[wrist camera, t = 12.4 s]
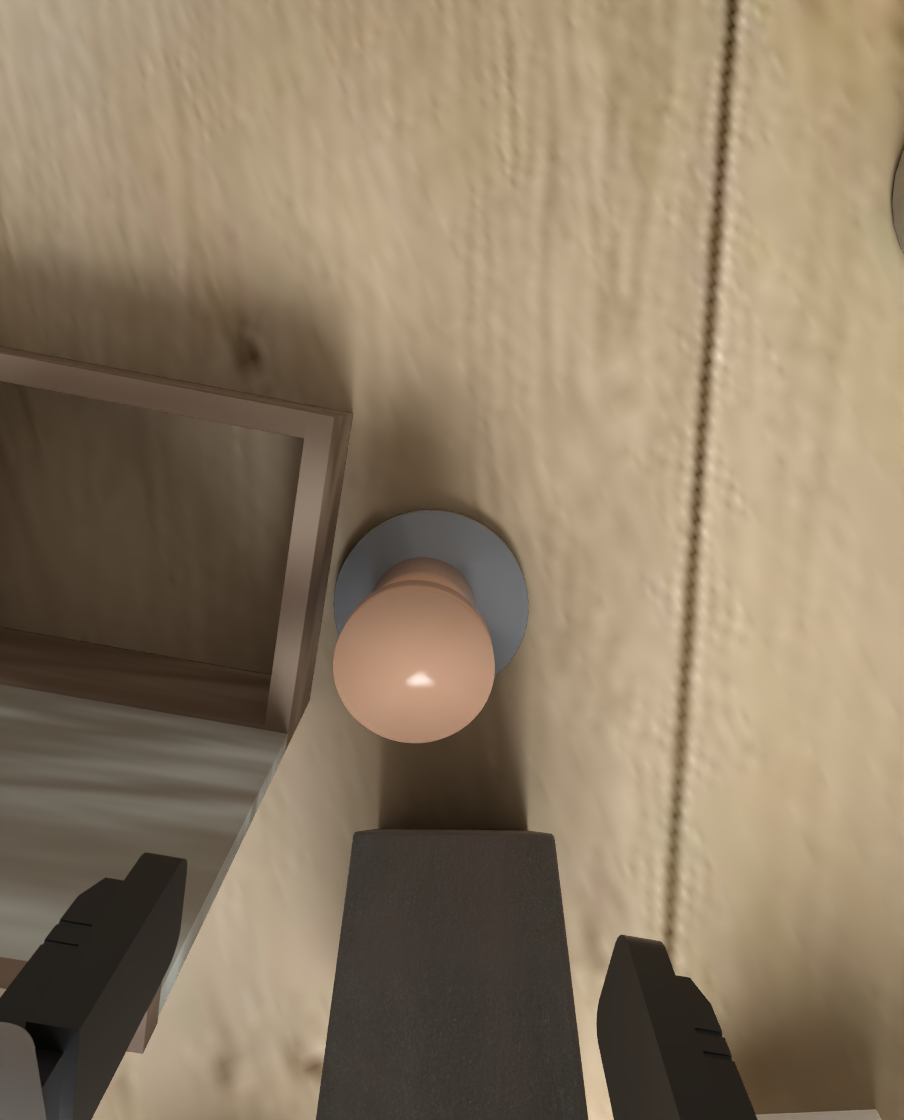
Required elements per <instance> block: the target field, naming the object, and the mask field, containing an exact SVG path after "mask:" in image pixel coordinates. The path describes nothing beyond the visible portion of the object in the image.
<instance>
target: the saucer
mask: <svg viewBox="0 0 904 1120" xmlns="http://www.w3.org/2000/svg"><path fill="white" fill-rule="evenodd" d="M417 557H428V558H434V559H438V560H441V561H444V562H446V563H448V564H450V565H452V566H453V567H454V568H456V569H457V570H458V571H459V572H460V573H461V574H462V575H463V576H464V577H465V579H466V580H467V582H468V583H469V585H470V587H471V589H472V592H473V595H474V600H475V608H476V609H477V610H478V611H479V612H480V614H481V616H482V617H483V619H484V621H485V623H486V625H487V627H488V630H489V633H490V636H491V641H492V647H493V654H494V661H495V675H494V677H495V676H496V675H497V674H498V673H499V672H501V671H502V670H503V669H504V668H505V666H506V665H507V664H508V663H509V662H510V660H511V659H512V658H513V656H514V654H515V653H516V651H517V649H518V648H519V645H520V643H521V641H522V639H523V636H524V633H525V629H526V626H527V619H528V603H529V601H528V593H527V587H526V583H525V580H524V576H523V574H522V571H521V569H520V566H519V564H518V562H517V560H516V558H515V557H514V555H513V553H512V551H511V550H510V549H509V547H508V546H507V545H506V544H505V542H504V541H503V540H502V539H501V538H500V537H499V536H498V535H497V534H496V533H495V532H493V531H492V530H491V529H489V528H488V527H487V526H485V525H484V524H482V523H480V522H478V521H477V520H475V519H473V518H470V517H468V516H465V515H463V514H459V513H455V512H452V511H446V510H438V509H423V510H416V511H410V512H406V513H403V514H399V515H397V516H394V517H392V518H390V519H387V520H385V521H384V522H382V523H380V524H379V525H377V526H375V527H374V528H373V529H372V530H370V531H369V532H368V533H367V534H366V535H365V536H364V537H363V538H362V539H361V540H360V541H359V542H358V543H357V544H356V546H355V547H354V548H353V550H352V551H351V552H350V554H349V555H348V557H347V559H346V561H345V562H344V564H343V566H342V568H341V571H340V574H339V576H338V579H337V583H336V588H335V594H334V617H335V622H336V627H337V630H338V633H339V636H340V634H341V632H342V630H343V628H344V626H345V624H346V622H347V620H348V618H349V616H350V614H351V613H352V612H353V610H354V609H355V608H356V606H357V605H358V604H359V603H360V602H361V601H362V600H363V599H364V598H366V597H367V596H368V595H370V594H371V593H372V592H373V591H374V589H375V587H376V585H377V583H378V581H379V580H380V578H381V577H382V576H383V574H384V573H385V572H386V571H387V570H389V569H390V568H391V567H392V566H394V565H396V564H397V563H399V562H402V561H404V560H407V559H411V558H417Z"/></svg>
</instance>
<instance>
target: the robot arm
mask: <svg viewBox="0 0 904 1120" xmlns="http://www.w3.org/2000/svg"><path fill="white" fill-rule="evenodd" d="M892 204H893V216H894V227H895V230H896V233H897V237H898V240H899V243H900V247H901V249H902V251H903V253H904V150H903V152H902V156H901V159H900V162H899V165H898V168H897V172H896V175H895V182H894V191H893V200H892ZM186 876H187V860H186V859H183V858H177V857H172V856H166V855H160V854H154V853H148V852H145V853H143V854H142V855H141V857H140V858H139V859H138V861H137V862H136V864H135V865H134V866H133V868H132V869H131V871H130V872H129V874H128V875H127V876H126V878H125V879H124V880H118V879H112V878H107V877H105V878H104V879H102V880H101V881H99V882H98V883H96V884H95V885H93V886H92V887H90V888H89V889H87V890H86V891H84V892H83V893H81V894H80V895H78V896H77V898H76V899H75V900H74V902H73V903H72V904H71V906H70V907H69V908H68V910H67V911H66V912H65V913H64V915H63V916H62V917H61V919H60V921H59V924H56V925H55V927H54V928H53V929H52V930H51V932H50V933H49V934H48V936H47V937H46V938H45V941H44V943H43V945H42V944H41V945H40V946H39V947H38V949H37V950H36V951H35V953H34V954H33V955H32V957H31V958H30V959H29V961H28V962H27V963H26V964H25V966H24V967H23V968H22V970H21V971H20V972H19V974H18V975H17V976H16V977H15V979H14V980H13V981H12V983H11V984H10V985H9V987H8V988H7V989H6V991H5V992H4V993H3V994H2V996H1V997H0V1120H91V1119H92V1117H93V1115H94V1113H95V1111H96V1109H97V1107H98V1105H99V1103H100V1101H101V1099H102V1097H103V1095H104V1093H105V1091H106V1090H107V1088H108V1086H109V1084H110V1082H111V1080H112V1078H113V1076H114V1074H115V1072H116V1070H117V1068H118V1066H119V1064H120V1062H121V1060H122V1058H123V1056H124V1054H125V1052H126V1050H127V1049H128V1047H129V1045H130V1043H131V1041H132V1039H133V1037H134V1035H135V1033H136V1031H137V1029H138V1027H139V1025H140V1023H141V1021H142V1019H143V1017H144V1015H145V1013H146V1011H147V1009H148V1008H149V1006H150V1004H151V1002H152V1000H153V998H154V996H155V994H156V992H157V990H158V988H159V986H160V984H161V982H162V980H163V978H164V976H165V974H166V972H167V970H168V968H169V966H170V964H171V961H172V959H173V956H174V953H175V950H176V947H177V943H178V939H179V935H180V929H181V921H182V912H183V903H184V894H185V885H186ZM597 1038H598V1044H599V1049H600V1054H601V1059H602V1063H603V1068H604V1073H605V1078H606V1083H607V1088H608V1092H609V1097H610V1102H611V1107H612V1112H613V1117H614V1120H758V1119H757V1117H756V1114H755V1112H754V1110H753V1107H752V1105H751V1102H750V1100H749V1097H748V1095H747V1092H746V1090H745V1087H744V1085H743V1082H742V1080H741V1077H740V1075H739V1072H738V1070H737V1067H736V1065H735V1063H734V1062H733V1061H732V1059H731V1056H732V1055H731V1053H730V1050H729V1048H728V1045H727V1043H726V1040H725V1038H723V1037H722V1030H721V1028H720V1025H719V1023H718V1020H717V1018H716V1016H715V1013H714V1011H713V1008H712V1006H711V1004H710V1002H709V1001H708V1000H707V999H706V997H705V996H704V995H703V994H702V992H701V991H700V990H699V989H698V987H697V986H696V985H695V984H694V982H693V981H692V980H691V979H690V978H688V977H682V976H676V975H675V973H674V970H673V968H672V965H671V962H670V959H669V957H668V954H667V951H666V948H665V946H664V945H663V943H662V942H660V941H655V940H650V939H644V938H638V937H632V936H626V935H620V936H619V937H618V938H617V941H616V943H615V946H614V950H613V953H612V957H611V961H610V964H609V968H608V971H607V975H606V978H605V982H604V985H603V989H602V992H601V996H600V999H599V1004H598V1011H597Z"/></svg>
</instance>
